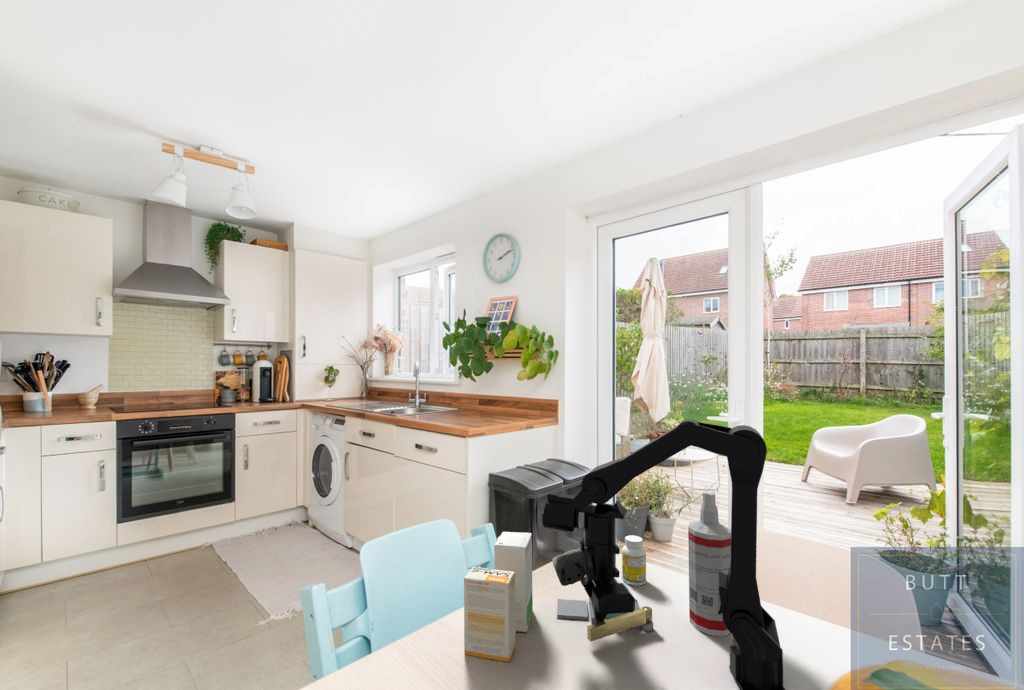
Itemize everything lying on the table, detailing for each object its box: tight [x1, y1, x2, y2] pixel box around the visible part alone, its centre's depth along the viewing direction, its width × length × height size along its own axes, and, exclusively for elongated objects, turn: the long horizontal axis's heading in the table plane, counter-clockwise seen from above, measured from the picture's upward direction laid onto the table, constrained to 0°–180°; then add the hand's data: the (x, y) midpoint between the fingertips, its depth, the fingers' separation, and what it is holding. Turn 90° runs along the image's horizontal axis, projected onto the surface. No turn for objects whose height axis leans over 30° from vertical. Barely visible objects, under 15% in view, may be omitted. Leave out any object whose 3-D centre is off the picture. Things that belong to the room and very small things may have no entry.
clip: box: [586, 605, 653, 643], centre depth 82 cm, size 14×2×2 cm, turn 117°
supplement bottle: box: [621, 534, 647, 587], centre depth 104 cm, size 5×5×10 cm
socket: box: [588, 596, 654, 633], centre depth 89 cm, size 12×9×1 cm
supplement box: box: [463, 566, 517, 663], centre depth 78 cm, size 8×5×13 cm, turn 74°
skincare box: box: [493, 531, 534, 633], centre depth 88 cm, size 8×7×16 cm
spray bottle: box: [687, 491, 732, 637], centre depth 87 cm, size 8×8×25 cm
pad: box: [556, 598, 589, 621], centre depth 91 cm, size 6×6×1 cm
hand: (599, 624), depth 81 cm, fingers closed
